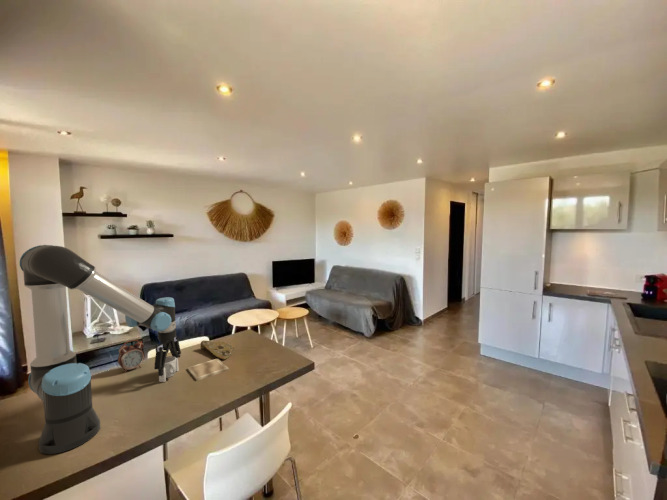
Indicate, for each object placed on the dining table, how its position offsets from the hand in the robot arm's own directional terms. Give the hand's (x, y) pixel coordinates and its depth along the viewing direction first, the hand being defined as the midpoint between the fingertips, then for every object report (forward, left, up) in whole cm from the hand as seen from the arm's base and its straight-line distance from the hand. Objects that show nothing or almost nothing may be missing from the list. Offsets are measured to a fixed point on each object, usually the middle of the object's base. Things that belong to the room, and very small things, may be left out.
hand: (169, 376), depth 135 cm
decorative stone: (+29, +11, -2) cm, 31 cm away
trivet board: (+16, -6, 0) cm, 17 cm away
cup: (0, 0, 0) cm, 1 cm away
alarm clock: (-12, +21, 0) cm, 24 cm away
